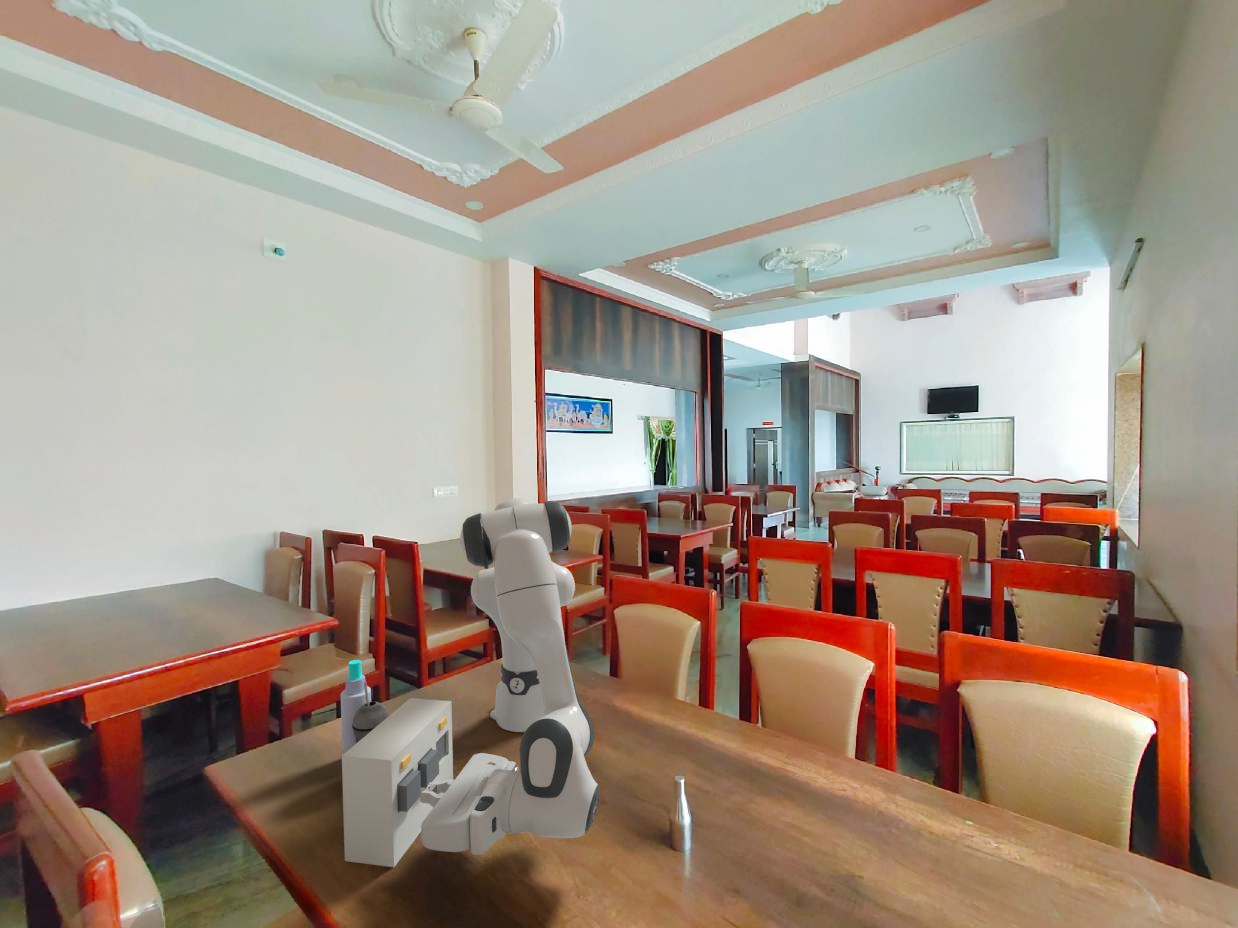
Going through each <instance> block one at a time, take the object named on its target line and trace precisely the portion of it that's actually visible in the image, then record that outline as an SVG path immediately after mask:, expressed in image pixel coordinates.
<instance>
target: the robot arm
mask: <svg viewBox="0 0 1238 928" xmlns="http://www.w3.org/2000/svg"><path fill="white" fill-rule="evenodd" d="M572 528H573V527H572V520H571V517H570V515H569V513H568V511H567V509H566V508H565V506H564V505H563V504H561V503H560V502H557V501H544V502H543V503H529V502H527V501H526V500H524V499H521V498H509V499H506V500H503V501H502V502H500V503H499V504H498V505H496V507H495V508H494V510H493V511H488V512H485V513H481V512H480V513H476V514H474V515H471V516H469V517H467V518H466V519H465V520H464V522H463V523H462V529H461V532H460V534H459V535H460V536H459V540H460V541H459V542H460V548H461V551H462V553H463V554H464V556H465V557H466V559H467V561H468V562H469V563H470V564H471V565H474V567H483V568H484V569H481V570H479V571H478V572H477V573H476V574H475V576H474V577H473V580H472V582H471V585H470V595H471V598H472V601H473V603H474V604H475V606H476V607H477V608H478V609H480V611H483V613H485V614H486V615H488V617H489V618H490V619H491V620H492V621H493V623H494V624H495V626H496V627H497V630H498V632H499V636H500V641H501V643H500V644H501V652H502V653H501V655H502V662H501V663H502V664H501V665H500V680H501V681H500V682H498V684H496V688H495V705H494V706H495V707H494V709H492V710H491V711H490V714H489V715H490V716H489V717H490V718H491V719H493V720H495V721H496V723H497V725H498V727H500V729H503V730H506V731H509V732H512V733H513V732H514V733H523V735H522V738H521V740H520V745H519V763H520V767H519V765H518V764H517V762H516V761H513V760H512V761H511V760H508V758H507V757H504V756H501V755H496V754H489V753H485V752H480V753H474V754H473V755H472V757H470V759H469V760H468V762H467V763H466V764H465V765H464V767H463V768H462V770H461V771H460V772H459V773H458V775H457V776H456V777H455V779H454V778H453V779H449V780H445V781H442V782H439V783H434V782H430V783H429V784H428V785H427V786H426V788H425V789H424V790H423V791H422V792H421V794H420V801H421V802H422V803H428V804H430V805H431V806H432V807H433V809H432V810H431V812H430V813H429V814H428V815H427V817H426V818H425V819H424V821H423V822H422V824H421V832H420V835H421V837H420V839H421V843H422V845H423V846H424V848H426V849H428V850H432V851H437V852H439V851H440V852H447V853H448V852H449V853H462V852H465V851H468V849H470V852H471V854H472V855H473V856H474V855H475V856H481V855H484V854H485V853H487V851H488V850H489V849H490V848H491V847H493V846H494V845H495V844H496V843H497V842H499V841H500V840H501V839H502V838H504V837H505V836H506V835H507V834H511V835H512V834H514V835H516V834H521V833H529V834H533V835H534V836H537V837H539V838H540V837H541V838H551V839H574V838H575V839H576V838H580V837H583V836H584V835H586V834H587V833H588V831H589V830H590V828H591V827H592V825H593V823H594V821H595V816H596V815H597V814H596V813H597V809H598V807H599V801H600V800H599V799H600V786H599V784H598V783H597V781H595V779H594V777H593V776H592V773H591V771H590V769H589V767H588V764H587V761H586V757H587V756H588V755H589V753H590V752H591V750H592V748H593V745H594V741H595V728H594V725H593V722H592V718H591V717H590V715H589V714H588V712H587V710H586V709H585V706H584V705H583V704H582V703H581V701H580V698H579V695H578V691H577V688H576V684H575V683H576V682H575V680H574V675H573V671H572V666H571V662H570V658H569V653H568V649H567V644H566V641H565V634H564V633H565V631H564V625H563V618H562V610H561V608H562V607H564V606H567V605H568V604H569V603H571V601H572V599H573V597H574V594H575V591H576V584H575V578H574V576H573V574H572V572H571V571H570V570H569V569H568V568H567V567H565V566H562V565H560V564H557V563H555V562H554V561H553V560H552V558H551V555H550V553H552V554H555V553H558V552H561V551H562V550H564V549H566V548H567V547H568V545H569V544H570V542H571V537H572V530H573V529H572ZM490 565H494V566H493V567H490Z"/></svg>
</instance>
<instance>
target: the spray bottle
mask: <svg viewBox="0 0 1238 928" xmlns="http://www.w3.org/2000/svg"><path fill="white" fill-rule="evenodd" d="M362 673H363V670H362V659H353V660H350V661H349V662H348V677H346V678H345V689H344V690H342V691H341V693H340V717H341V719H340V721H341V750H342V752H341V754H342V755H343V754H344V753H346V752H347V751H348V750H349V749H350V748H352V747H353V746H354V745H355V744H356V738H355V735H354V731H353V728H352V724H353V719H354V716H355V714H356V712H357V710H358V709H359V708H360V707H361V706H362V705H364V704H365V703H366V696H365V688H364V682H366V675H364V674H362ZM367 690H368V698H369V702H372V689H371V687H370V686H368V685H367ZM342 755H341V756H342Z"/></svg>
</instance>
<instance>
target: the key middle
mask: <svg viewBox="0 0 1238 928" xmlns="http://www.w3.org/2000/svg"><path fill="white" fill-rule="evenodd" d="M418 770H419V771H420V778H421V787H423V788H426V786H427V785H428V784H429V783H430V782H432V781H433V780H434V779H435V778H436V777H437V775H438V774H439V750H431V749H430V750H429V751H428V752H427V753H426V754H425V755H424V756H423V757H422V758H421V759H420V761H419V762H418Z"/></svg>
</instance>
